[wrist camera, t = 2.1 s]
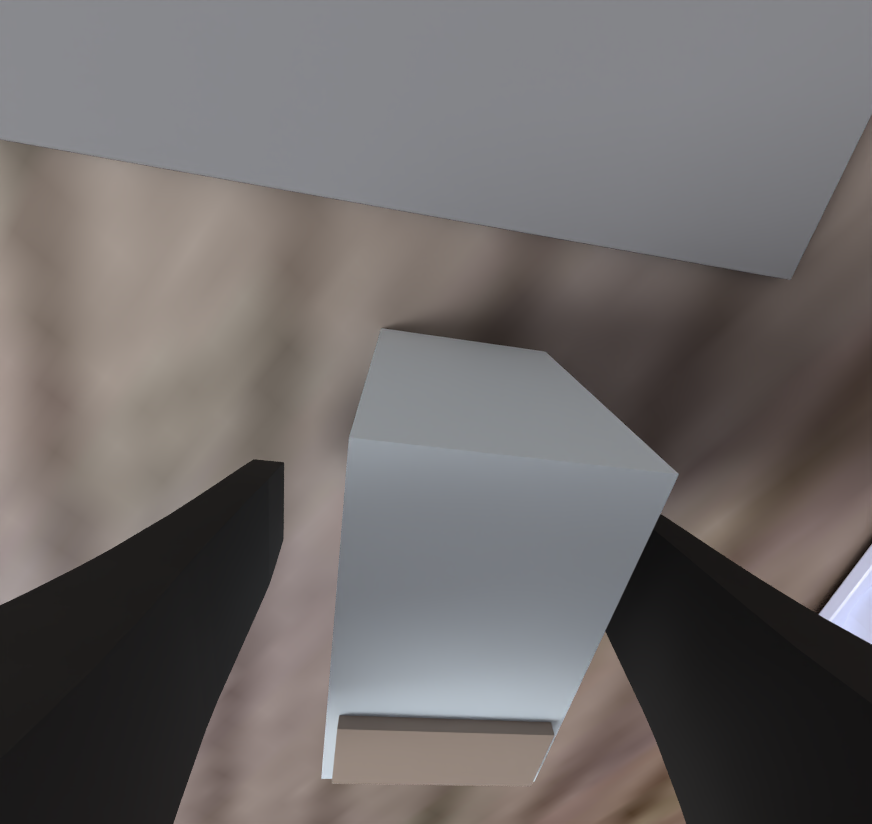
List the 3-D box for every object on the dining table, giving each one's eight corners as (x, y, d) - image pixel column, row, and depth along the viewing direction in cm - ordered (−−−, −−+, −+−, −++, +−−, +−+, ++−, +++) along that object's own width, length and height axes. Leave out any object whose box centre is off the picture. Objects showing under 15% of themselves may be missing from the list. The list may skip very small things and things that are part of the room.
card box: (544, 350, 10) (689, 484, 5) (485, 565, 13) (536, 795, 8) (381, 327, 10) (345, 446, 4) (357, 554, 12) (319, 791, 7)
